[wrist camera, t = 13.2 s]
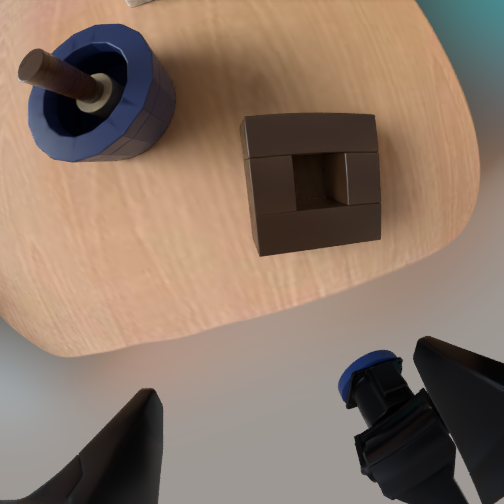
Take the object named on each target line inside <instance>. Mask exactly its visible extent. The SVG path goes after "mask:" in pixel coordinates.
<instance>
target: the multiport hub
mask: <svg viewBox="0 0 504 504" xmlns="http://www.w3.org/2000/svg"><path fill="white" fill-rule="evenodd" d="M150 1H153V0H125V2H126V3H127V5H128V6H129V7H135V6H138V5H141V4H144V3H147V2H150Z"/></svg>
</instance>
